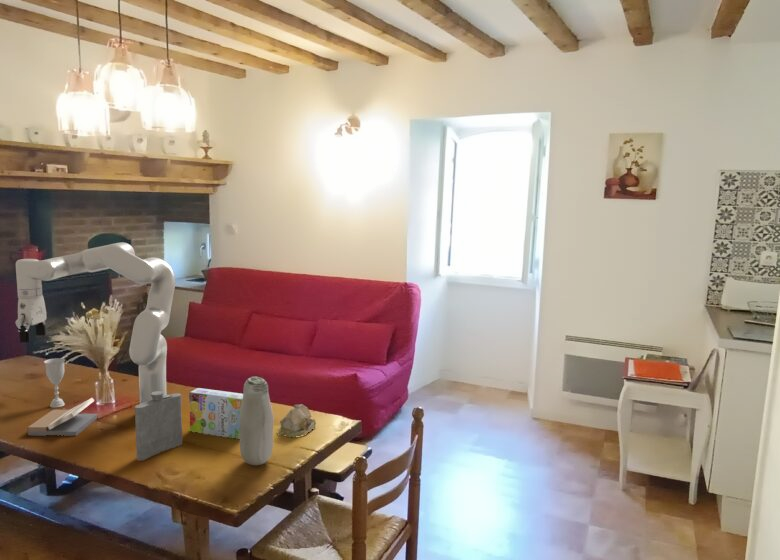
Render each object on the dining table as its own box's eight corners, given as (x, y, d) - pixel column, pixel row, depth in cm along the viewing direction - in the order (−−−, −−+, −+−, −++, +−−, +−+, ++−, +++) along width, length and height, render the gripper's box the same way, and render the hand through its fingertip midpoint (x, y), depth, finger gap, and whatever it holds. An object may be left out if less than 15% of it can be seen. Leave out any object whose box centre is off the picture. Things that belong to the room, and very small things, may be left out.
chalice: (71, 402, 221) (69, 358, 218) (60, 408, 214) (57, 364, 211) (54, 401, 221) (52, 357, 219) (42, 407, 215) (39, 362, 212)
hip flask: (140, 461, 174) (138, 400, 171) (133, 457, 177) (130, 398, 174) (184, 444, 187) (182, 387, 185) (176, 440, 190) (175, 384, 187)
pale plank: (94, 400, 205) (92, 397, 205) (73, 416, 191) (71, 413, 190) (72, 413, 206) (69, 409, 205) (49, 429, 191) (47, 426, 191)
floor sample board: (97, 417, 207) (97, 409, 206) (76, 435, 191) (75, 427, 191) (53, 417, 206) (53, 409, 206) (28, 435, 190) (27, 427, 190)
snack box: (250, 434, 197) (250, 393, 194) (241, 441, 191) (241, 399, 189) (198, 426, 202) (197, 386, 200) (188, 432, 197) (187, 391, 195)
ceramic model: (295, 441, 192) (295, 413, 191) (271, 433, 198) (271, 406, 197) (320, 427, 204) (321, 402, 203) (297, 420, 210) (297, 395, 209)
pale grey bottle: (279, 462, 177) (279, 378, 172) (251, 473, 169) (251, 385, 165) (260, 452, 183) (260, 370, 179) (233, 462, 176) (232, 377, 171)
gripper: (26, 297, 193) (29, 345, 195) (53, 289, 210) (56, 333, 212) (4, 296, 192) (7, 344, 195) (33, 288, 210) (36, 332, 212)
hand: (33, 338), depth 204 cm, fingers open, 9 cm apart
